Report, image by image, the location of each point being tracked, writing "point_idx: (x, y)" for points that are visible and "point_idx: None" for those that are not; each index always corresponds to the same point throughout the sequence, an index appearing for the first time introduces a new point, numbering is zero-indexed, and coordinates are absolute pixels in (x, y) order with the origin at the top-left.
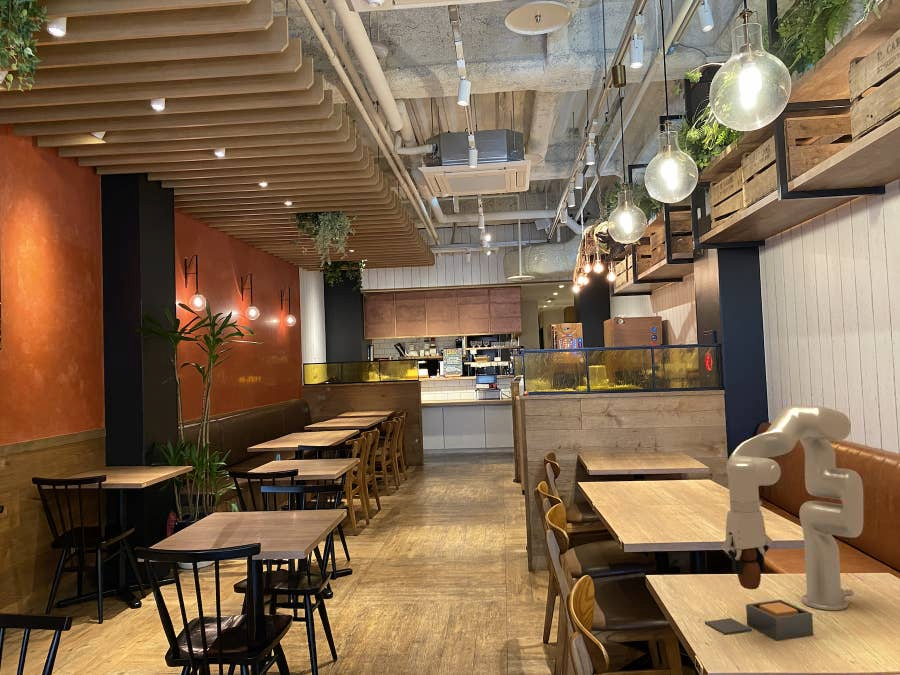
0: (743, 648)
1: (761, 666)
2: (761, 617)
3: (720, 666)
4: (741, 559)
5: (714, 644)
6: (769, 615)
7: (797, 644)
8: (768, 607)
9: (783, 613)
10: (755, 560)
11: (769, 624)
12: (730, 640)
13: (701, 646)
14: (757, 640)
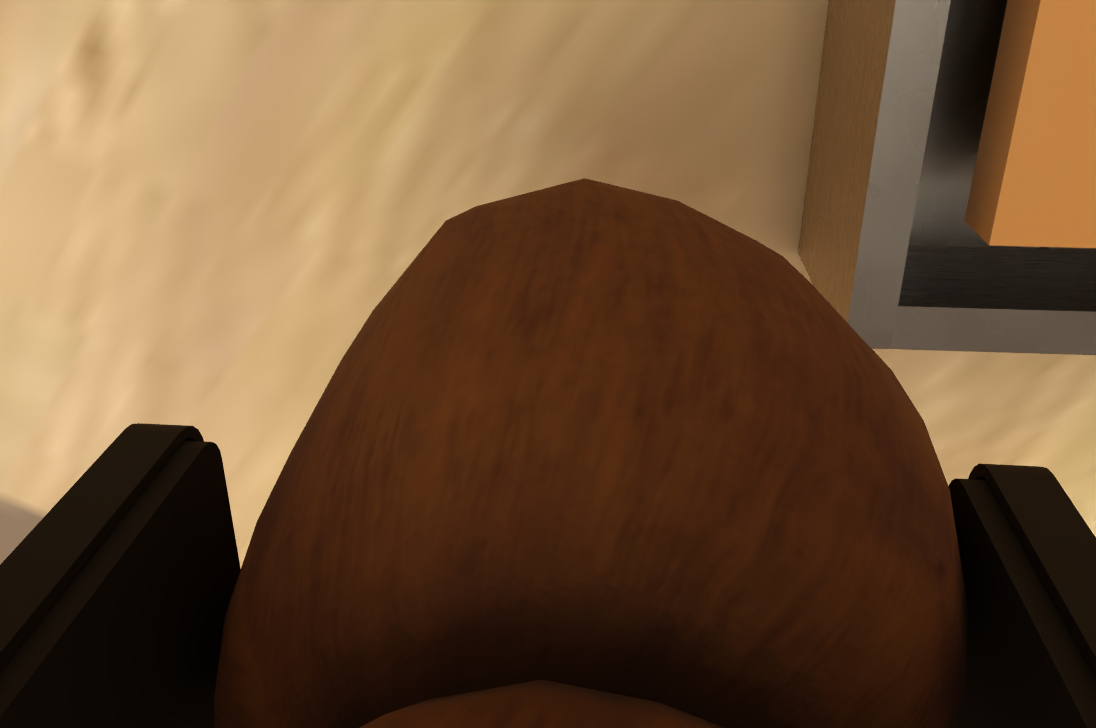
0: (376, 283)
1: None
2: (864, 63)
3: (6, 487)
4: (403, 667)
5: (159, 112)
6: (858, 241)
7: (905, 377)
8: (1093, 14)
9: (1091, 243)
10: (1032, 705)
11: (837, 196)
12: (371, 80)
13: (11, 110)
14: (631, 176)
